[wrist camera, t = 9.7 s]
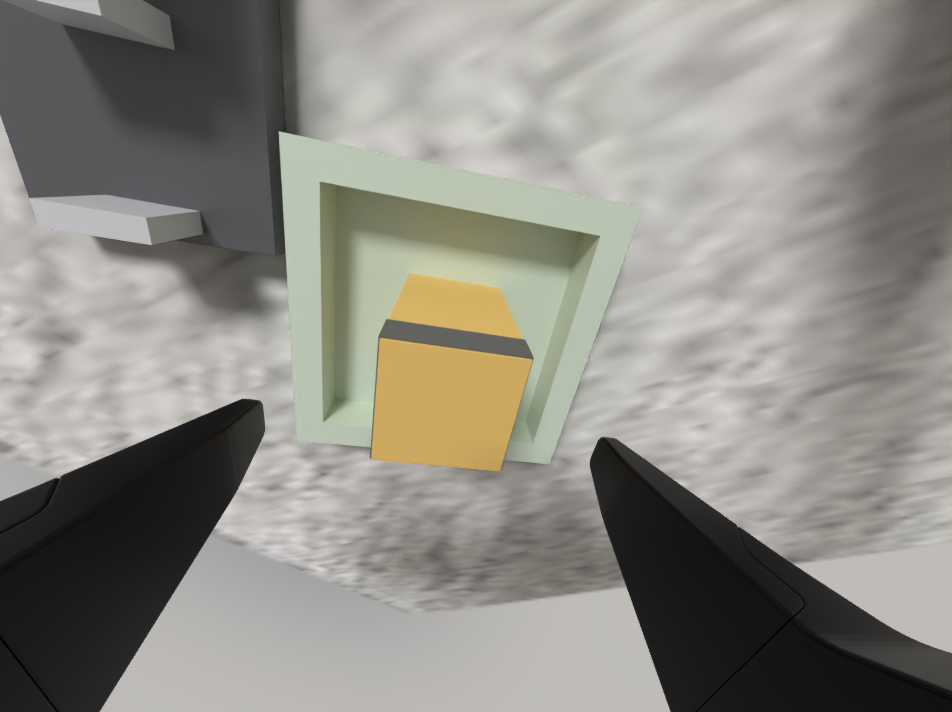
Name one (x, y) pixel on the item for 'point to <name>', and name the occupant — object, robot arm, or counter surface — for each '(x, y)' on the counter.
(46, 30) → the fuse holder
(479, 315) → the block
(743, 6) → the counter surface
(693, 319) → the counter surface
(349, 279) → the tray
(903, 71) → the counter surface
